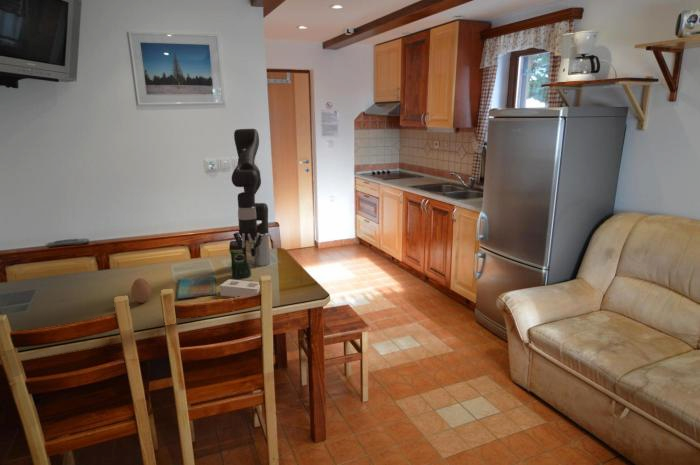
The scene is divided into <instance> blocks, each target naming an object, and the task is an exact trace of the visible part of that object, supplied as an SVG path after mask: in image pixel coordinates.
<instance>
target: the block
mask: <svg viewBox="0 0 700 465" xmlns="http://www.w3.org/2000/svg"><path fill="white" fill-rule="evenodd" d="M241 280H242V279H241ZM241 280H234V279H231V278H230V279H227V280H226V281H224V282H223V283H221V284H220V285H219V293H220V294H219V295H220V296H224V297H232V298H238V297H237V296H242V295H249V294H255V293H258V292H259V290H260V285H259V281H253V280H251V281H241Z"/></svg>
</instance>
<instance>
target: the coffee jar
mask: <svg viewBox="0 0 700 465" xmlns="http://www.w3.org/2000/svg"><path fill="white" fill-rule="evenodd" d="M228 250H229V253H230V258H231V264H230V265H231V268H230V269H231V270H230V271H231V272H230V274H231V275H230V276H231V278H233V279H246V278H249V277H251V275H252V270H251V265H250V264H251V263H247V260H246V256H244V254H243V248H242V247H241V246H238V244H237V242H236V240H231V241H230V242H229V248H228Z"/></svg>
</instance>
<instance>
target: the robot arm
mask: <svg viewBox="0 0 700 465" xmlns="http://www.w3.org/2000/svg"><path fill="white" fill-rule="evenodd" d="M233 134H234V135H233V140H234V146H235V149H236V152H237V157H238V159H237V165H236V167H235V168H234V170H233V172H232V174H231V182H232V185H233V186H235V187H236V188H243V192H240V193H238V194H237V206H238V207H237V208H238V209H237V218H238V229H239V230H238V232H237V231H236V232H234V233H233V234H232V235H233V237H234V239H235V240H234V241H236V242H237V244H238V246H241V247H242V248H243V254H244V256H246V244H245V240H249V241H250V244H251V253H252V257H253V259H254V262H253V263H252V264H253V265H254V266H256V267H257V266H258V267H263V266H264V267H265V266H267V265H270V263H271V254H270V253H271V252H270V237H269V236H270V235H269V234H270V233H269V208H268V207H269V206H268V205H267V204H268V203H265V202H256V198H255V197H256V193H257V192H258V191H259V190H260V187H261V184H262V179H261V178H262V177H261V171H260V169H259V168H258V166H257V165H256V164H255V161H256V160H255V159H256V157H257V153H258V149H259V146H260V137H259V136H260V134H259V132H258V130H257V129H255V128H238V129H235V130H234V132H233ZM258 221H261V223H259V224H258Z"/></svg>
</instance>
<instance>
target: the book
mask: <svg viewBox="0 0 700 465" xmlns="http://www.w3.org/2000/svg"><path fill="white" fill-rule="evenodd" d="M176 289H177V290H176V292H177V294H176V300H177V301H179V302H181V301H188V300H195V299H196V298H197V299H198V298H203V297H211V296H217V291H218V290H217V282H216V277H215V276H214V275H206V276H201V277H195V278H180V279H177V288H176Z"/></svg>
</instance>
